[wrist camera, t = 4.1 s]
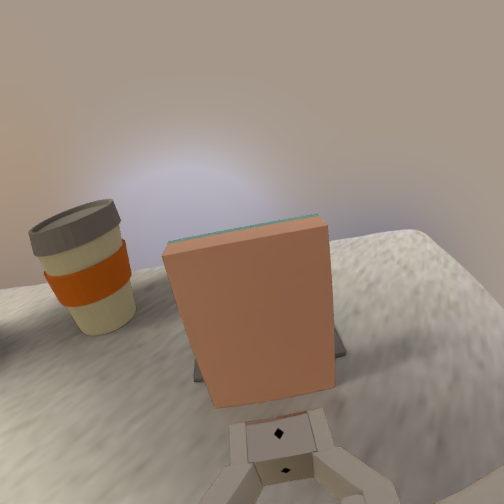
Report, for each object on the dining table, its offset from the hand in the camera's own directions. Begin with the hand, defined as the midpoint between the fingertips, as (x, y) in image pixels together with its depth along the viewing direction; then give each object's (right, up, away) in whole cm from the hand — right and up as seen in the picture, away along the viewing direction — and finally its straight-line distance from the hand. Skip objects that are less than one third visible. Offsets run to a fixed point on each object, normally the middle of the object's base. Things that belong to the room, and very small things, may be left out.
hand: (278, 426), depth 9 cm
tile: (+1, -6, +16) cm, 17 cm away
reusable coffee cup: (-21, -4, +31) cm, 38 cm away
